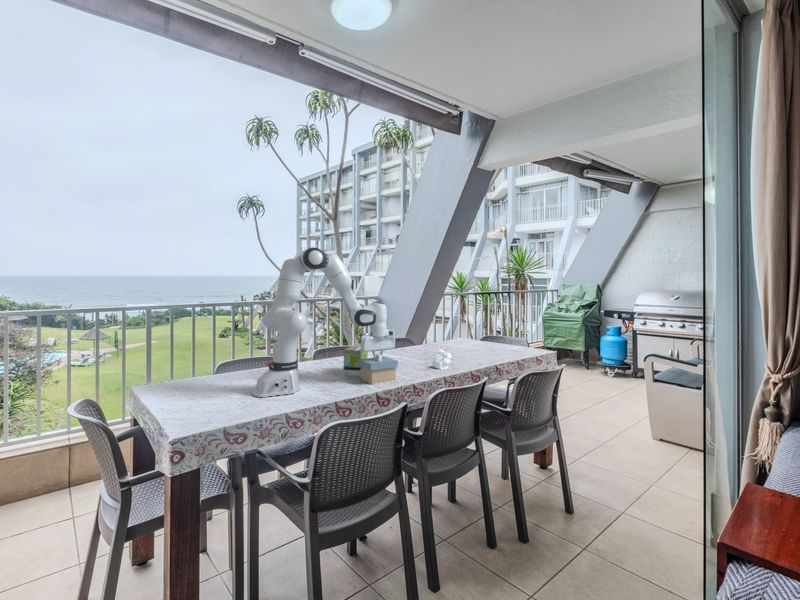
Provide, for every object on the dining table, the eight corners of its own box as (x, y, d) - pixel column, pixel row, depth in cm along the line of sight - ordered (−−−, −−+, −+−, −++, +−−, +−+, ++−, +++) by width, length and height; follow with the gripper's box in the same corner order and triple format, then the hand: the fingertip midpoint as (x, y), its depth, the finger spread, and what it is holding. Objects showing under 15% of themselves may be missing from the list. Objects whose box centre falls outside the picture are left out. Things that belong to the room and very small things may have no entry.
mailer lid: (371, 370, 200) (371, 358, 200) (358, 366, 210) (358, 354, 210) (397, 366, 210) (397, 354, 210) (384, 362, 220) (384, 351, 220)
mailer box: (371, 384, 202) (372, 371, 202) (360, 379, 211) (360, 367, 211) (395, 380, 211) (395, 367, 211) (383, 375, 220) (383, 363, 220)
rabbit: (452, 368, 241) (452, 348, 240) (447, 371, 232) (448, 351, 232) (433, 366, 246) (433, 346, 245) (428, 369, 237) (428, 349, 236)
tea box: (360, 376, 217) (360, 350, 217) (342, 375, 219) (342, 349, 219) (367, 370, 232) (367, 345, 231) (351, 369, 234) (351, 345, 233)
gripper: (364, 334, 201) (364, 361, 201) (397, 331, 213) (396, 357, 214) (358, 332, 206) (358, 359, 206) (390, 330, 218) (389, 355, 219)
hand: (377, 358), depth 210 cm, fingers closed on mailer lid
